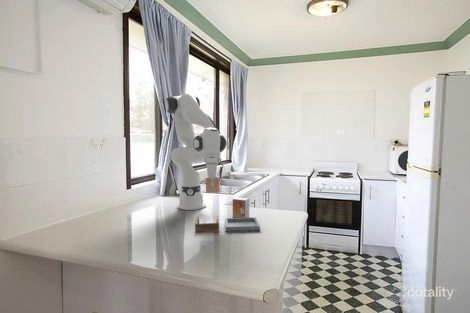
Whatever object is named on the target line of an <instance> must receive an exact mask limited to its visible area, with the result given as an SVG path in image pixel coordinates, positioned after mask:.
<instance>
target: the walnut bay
mask: <svg viewBox="0 0 470 313" xmlns="http://www.w3.org/2000/svg"><path fill="white" fill-rule="evenodd" d="M219 219H220V218H219V215H216V222H214V223H213V222H211V223H210V222H208V223H200V216H196V219H195V223H194V230H195V231H194V232H195V233H199V234H202V233H219V230H220V229H219V226H220V225H219V224H220V223H219V222H220V221H219Z"/></svg>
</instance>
